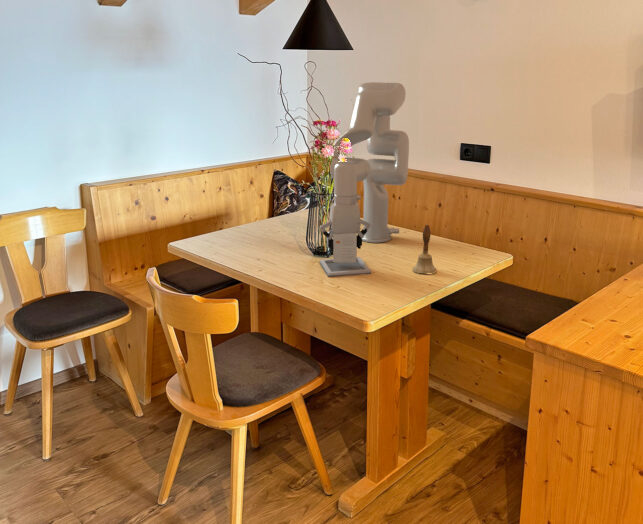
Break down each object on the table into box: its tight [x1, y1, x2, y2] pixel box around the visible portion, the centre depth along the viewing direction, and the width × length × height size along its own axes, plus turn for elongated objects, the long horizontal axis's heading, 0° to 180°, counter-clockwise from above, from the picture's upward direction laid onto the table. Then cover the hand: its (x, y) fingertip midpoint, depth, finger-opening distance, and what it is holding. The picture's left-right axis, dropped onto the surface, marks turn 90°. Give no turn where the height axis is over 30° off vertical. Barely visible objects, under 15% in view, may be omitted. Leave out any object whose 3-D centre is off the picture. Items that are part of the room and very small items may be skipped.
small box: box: [332, 232, 358, 263], centre depth 219 cm, size 8×6×10 cm
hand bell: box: [411, 224, 437, 275], centre depth 216 cm, size 8×8×16 cm
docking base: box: [318, 256, 372, 278], centre depth 221 cm, size 15×14×1 cm
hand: (344, 248), depth 219 cm, fingers closed on small box, 9 cm apart
